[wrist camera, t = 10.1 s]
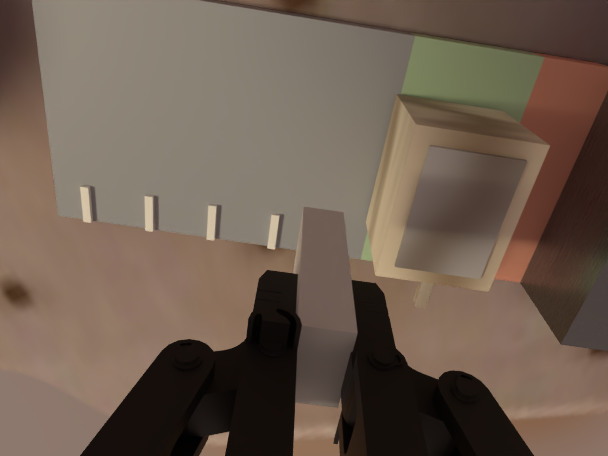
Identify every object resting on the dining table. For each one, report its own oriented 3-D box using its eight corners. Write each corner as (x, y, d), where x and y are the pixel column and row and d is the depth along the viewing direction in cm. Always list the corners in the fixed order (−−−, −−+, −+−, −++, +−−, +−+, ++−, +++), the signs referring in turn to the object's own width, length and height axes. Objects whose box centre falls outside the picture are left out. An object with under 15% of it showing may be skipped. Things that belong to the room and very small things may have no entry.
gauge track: (73, 202, 32) (55, 217, 30) (48, -28, 25) (24, -28, 23) (509, 266, 33) (521, 285, 31) (597, 63, 26) (620, 70, 24)
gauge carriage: (359, 248, 30) (367, 308, 24) (396, 94, 25) (416, 125, 20) (449, 261, 30) (477, 323, 25) (502, 111, 25) (552, 146, 20)
